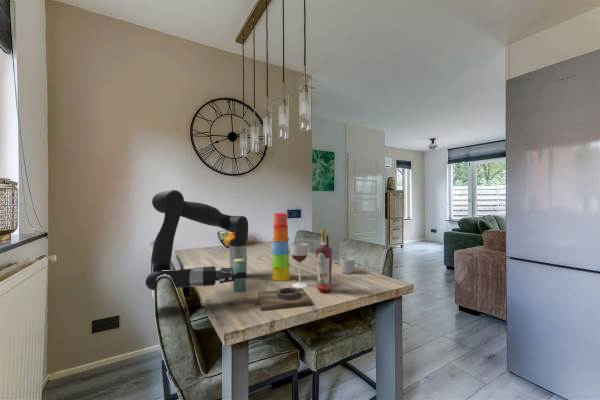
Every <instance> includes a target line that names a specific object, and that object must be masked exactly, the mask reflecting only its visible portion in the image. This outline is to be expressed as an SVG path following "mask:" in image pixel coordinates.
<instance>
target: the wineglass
mask: <svg viewBox="0 0 600 400" xmlns="http://www.w3.org/2000/svg"><path fill="white" fill-rule="evenodd" d="M308 250H309V244H308V243H307V242H293V243H290V251H291V252H290V253H291V256H292V259H293V260H295V261H296V262H298V282H296V283H295V282H294V283H292V285H291V286H292V288H296V289H299V288H303V289H304V288H306V287H308V283H305V282H302V281H301V263H302V262H304V261H305V260H306V259H307V256H308Z"/></svg>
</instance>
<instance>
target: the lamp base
mask: <svg viewBox="0 0 600 400" xmlns="http://www.w3.org/2000/svg"><path fill="white" fill-rule="evenodd" d="M257 298H258V302H259V306H260V311H267V310H270V311H271V310H278V309H286V308H287V309H288V308H297V307H305V306H306V307H307V306H313V301H312V299H311V298H310V297H309V295H308V294H307V293H306V291H305V290H304V287H303V288H297V287H282V288H280V289H278V290H269V291H258V292H257Z"/></svg>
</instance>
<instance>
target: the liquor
mask: <svg viewBox="0 0 600 400" xmlns="http://www.w3.org/2000/svg"><path fill="white" fill-rule="evenodd" d="M320 234H321V238H320V239H321V240H320V246H318V247H317V248H316V249H315V255H316V257H315V258H316V269H317V271H316V273H317V288H316V289H317V290H318V291H319V292H321V293H323V294H324V293H329V292H330V291H332V289H333V287H332V268H333V267H332V265H333V249H332V248H331V247H330V246H328V240H327V239H328V238H327V236H328V235H327V234H328V230H327V228H325V229H324V228H321V229H320Z"/></svg>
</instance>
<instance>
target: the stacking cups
mask: <svg viewBox="0 0 600 400" xmlns="http://www.w3.org/2000/svg"><path fill="white" fill-rule="evenodd" d="M272 228H273V237H272V241H273V244H272V246H273V247H272V248H273V249H272V250H273V251H271V253H272V263H271V266H272V276H271V278H270V279H271V280H272V281H277V282H284V281H288V280H290V279H291V275H290V266H291V263H290V250H289V240H290V238H289V235H288V234H289V232H288V231H289V230H288V229H289V225H288V214H287V213H286V212H278V213H277V212H276V213H274V215H273V226H272Z"/></svg>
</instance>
